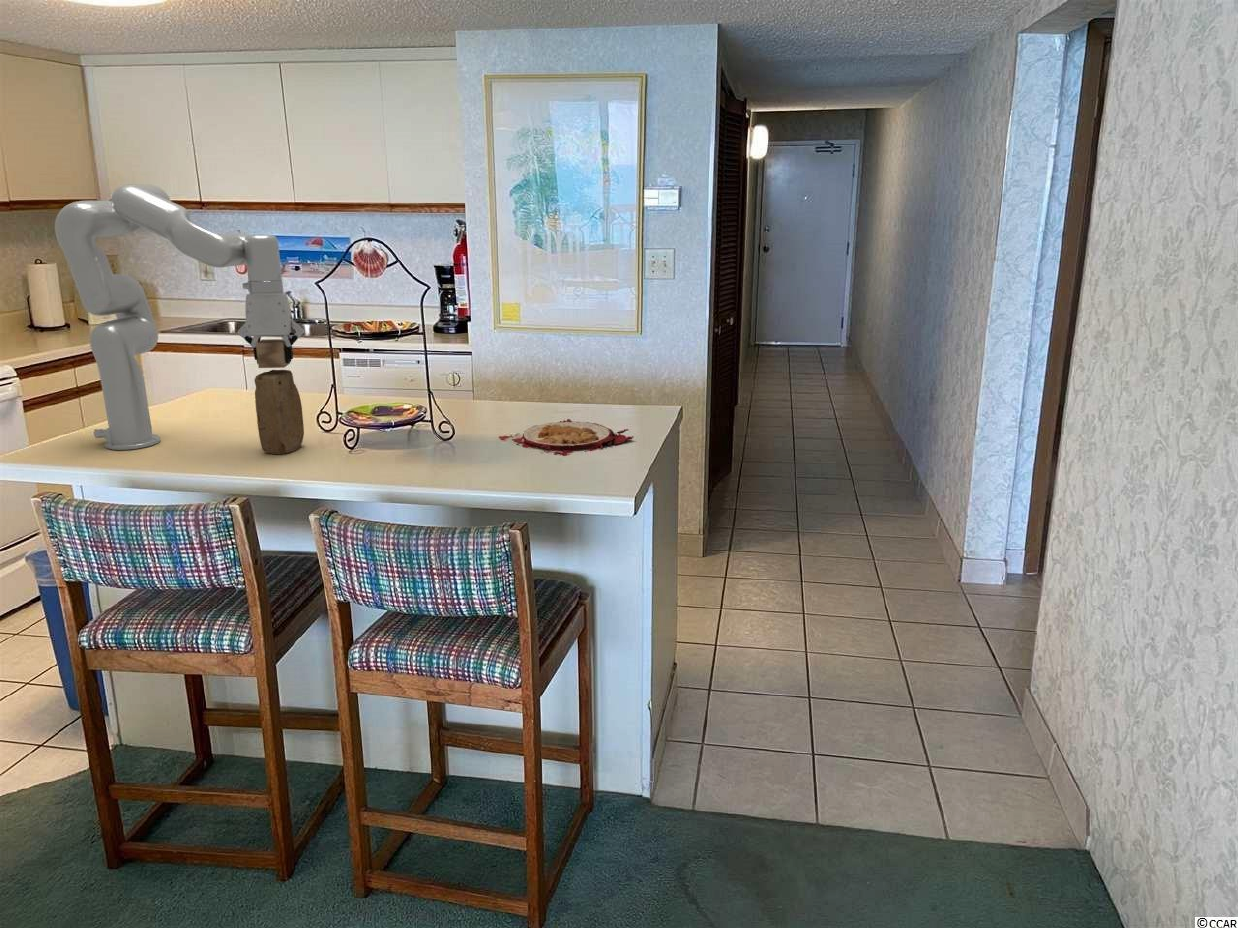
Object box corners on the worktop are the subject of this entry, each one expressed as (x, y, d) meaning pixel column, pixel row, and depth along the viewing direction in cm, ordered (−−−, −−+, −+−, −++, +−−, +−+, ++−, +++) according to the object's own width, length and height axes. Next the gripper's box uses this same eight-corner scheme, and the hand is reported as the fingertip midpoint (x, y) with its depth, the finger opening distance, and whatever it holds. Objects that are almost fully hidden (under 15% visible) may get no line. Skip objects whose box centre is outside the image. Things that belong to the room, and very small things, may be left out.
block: (283, 456, 217) (274, 376, 211) (257, 454, 219) (247, 374, 213) (310, 445, 227) (302, 368, 221) (285, 443, 229) (276, 366, 223)
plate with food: (569, 426, 250) (568, 413, 249) (634, 441, 231) (633, 428, 230) (497, 442, 234) (496, 429, 233) (560, 461, 215) (560, 447, 214)
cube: (258, 368, 213) (255, 343, 212) (265, 363, 219) (262, 339, 217) (284, 367, 214) (281, 342, 212) (290, 363, 220) (287, 339, 218)
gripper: (223, 289, 207) (233, 366, 212) (299, 289, 209) (307, 364, 214) (233, 286, 214) (242, 360, 219) (306, 286, 216) (314, 359, 221)
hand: (274, 362), depth 216 cm, fingers closed on cube, 6 cm apart
